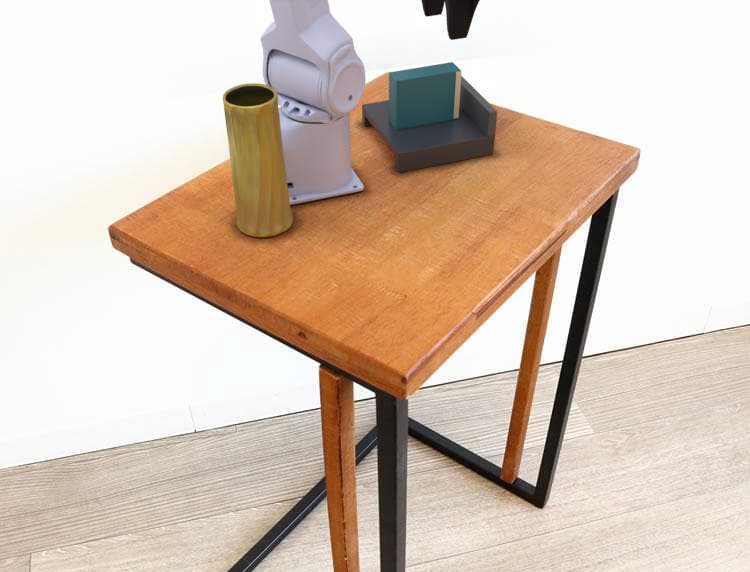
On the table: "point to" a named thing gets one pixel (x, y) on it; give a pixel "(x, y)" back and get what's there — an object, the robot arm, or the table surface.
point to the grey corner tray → (438, 133)
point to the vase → (257, 160)
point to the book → (424, 95)
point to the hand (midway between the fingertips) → (445, 26)
